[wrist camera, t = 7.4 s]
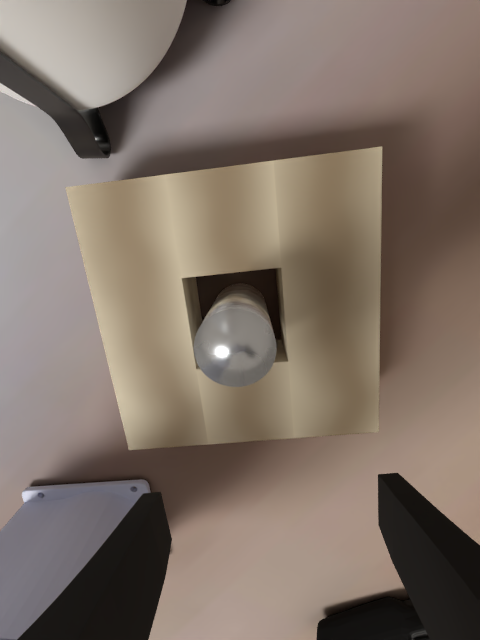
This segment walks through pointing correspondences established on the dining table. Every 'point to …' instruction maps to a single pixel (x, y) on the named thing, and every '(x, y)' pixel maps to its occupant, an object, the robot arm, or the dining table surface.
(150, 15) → the coffee press
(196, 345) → the peg
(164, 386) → the socket block
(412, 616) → the electric trimmer
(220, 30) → the dining table surface
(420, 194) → the dining table surface
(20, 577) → the robot arm
